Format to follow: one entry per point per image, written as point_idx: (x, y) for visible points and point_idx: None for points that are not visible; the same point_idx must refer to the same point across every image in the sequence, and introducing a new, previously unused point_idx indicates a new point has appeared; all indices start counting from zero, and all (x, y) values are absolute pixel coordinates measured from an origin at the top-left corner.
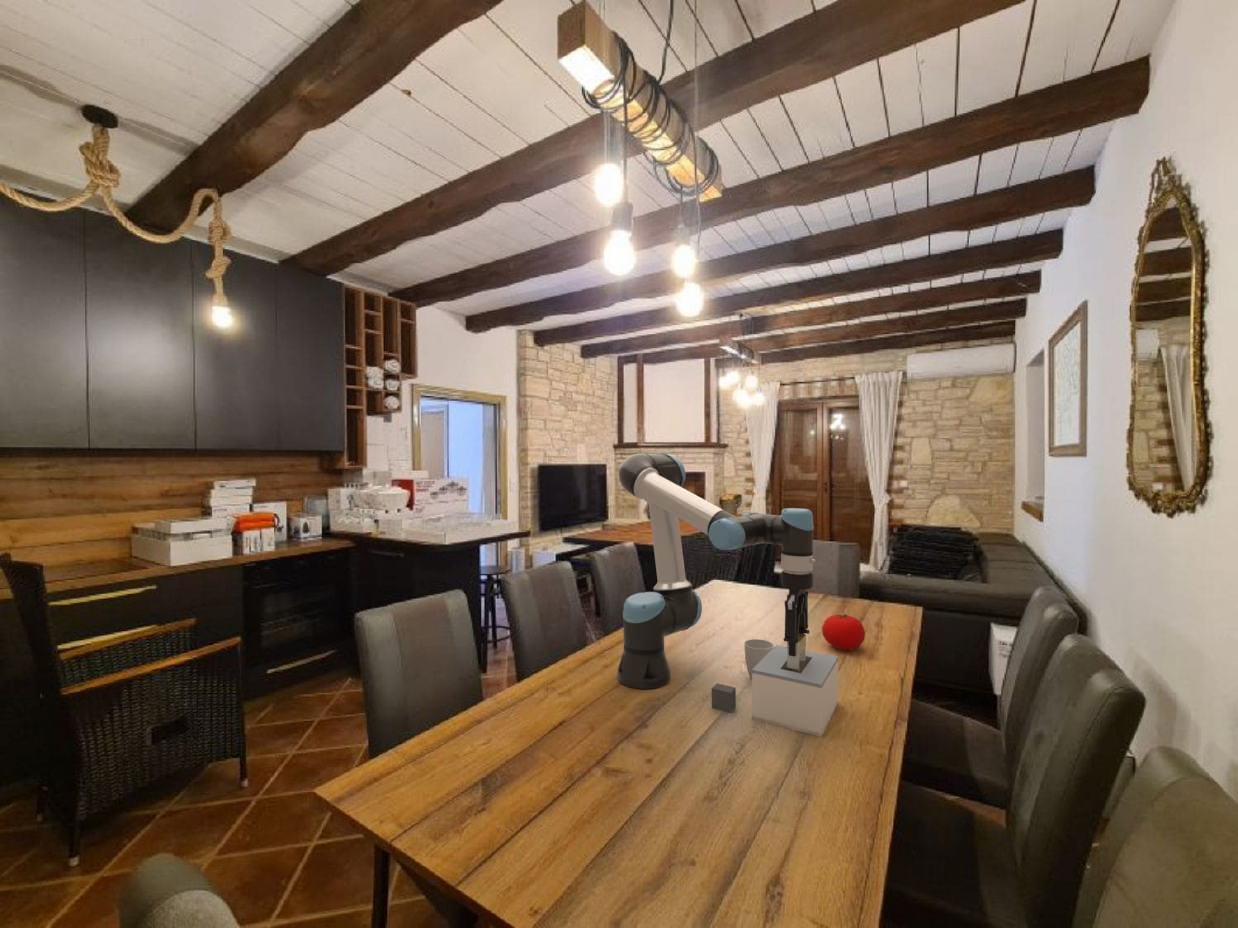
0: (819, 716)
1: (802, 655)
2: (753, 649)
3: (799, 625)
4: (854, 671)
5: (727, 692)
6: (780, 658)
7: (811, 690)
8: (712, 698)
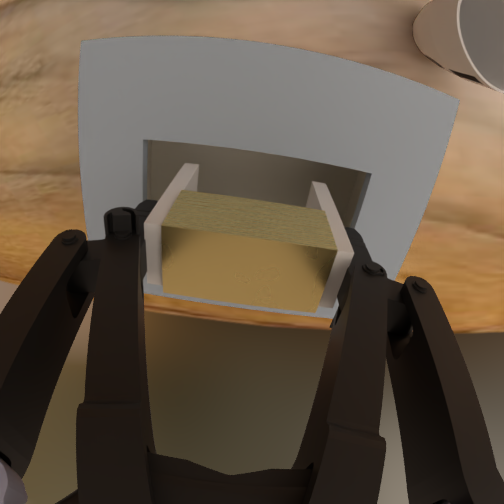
0: None
1: None
2: (454, 5)
3: (341, 319)
4: (500, 266)
5: None
6: (280, 121)
7: None
8: None
